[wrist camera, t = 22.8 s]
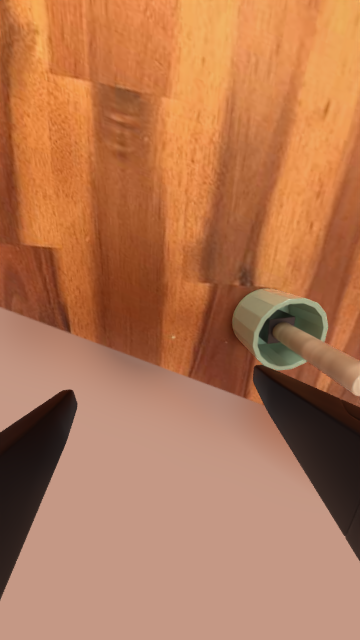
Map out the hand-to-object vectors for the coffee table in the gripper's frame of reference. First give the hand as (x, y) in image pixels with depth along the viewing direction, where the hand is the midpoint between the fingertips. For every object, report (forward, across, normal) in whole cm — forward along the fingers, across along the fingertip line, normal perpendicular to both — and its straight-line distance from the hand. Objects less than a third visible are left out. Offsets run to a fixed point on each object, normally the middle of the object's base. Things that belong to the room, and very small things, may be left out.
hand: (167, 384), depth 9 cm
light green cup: (+13, -12, +2) cm, 18 cm away
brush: (+12, -12, +2) cm, 18 cm away
